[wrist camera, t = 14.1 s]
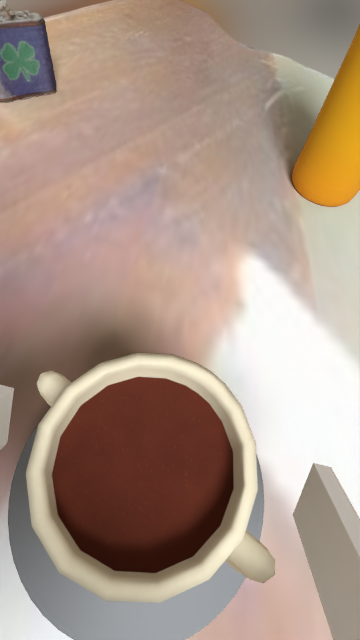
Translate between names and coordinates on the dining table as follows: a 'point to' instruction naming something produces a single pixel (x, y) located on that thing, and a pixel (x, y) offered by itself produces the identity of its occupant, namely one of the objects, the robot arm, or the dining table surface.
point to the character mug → (144, 479)
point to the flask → (24, 56)
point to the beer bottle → (334, 140)
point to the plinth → (113, 616)
